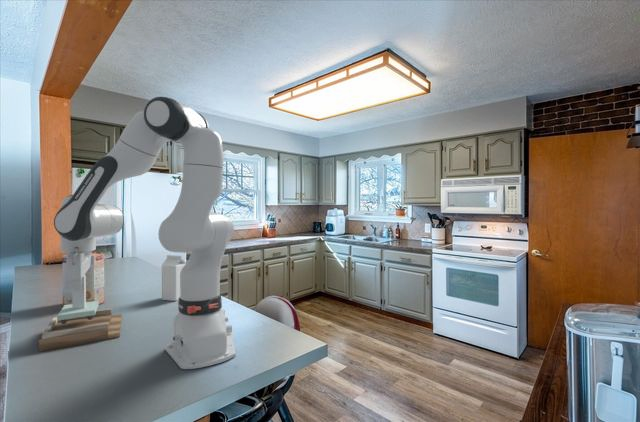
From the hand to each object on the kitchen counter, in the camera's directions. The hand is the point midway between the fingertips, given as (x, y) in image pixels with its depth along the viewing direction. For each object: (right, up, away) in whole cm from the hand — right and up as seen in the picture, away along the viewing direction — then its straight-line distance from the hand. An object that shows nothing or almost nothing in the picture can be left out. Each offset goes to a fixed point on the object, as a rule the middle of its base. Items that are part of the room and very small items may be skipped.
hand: (79, 288), depth 98 cm
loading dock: (+1, -15, +1) cm, 15 cm away
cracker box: (-21, -14, +30) cm, 39 cm away
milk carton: (+12, -14, +38) cm, 42 cm away
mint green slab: (0, -9, 0) cm, 9 cm away
